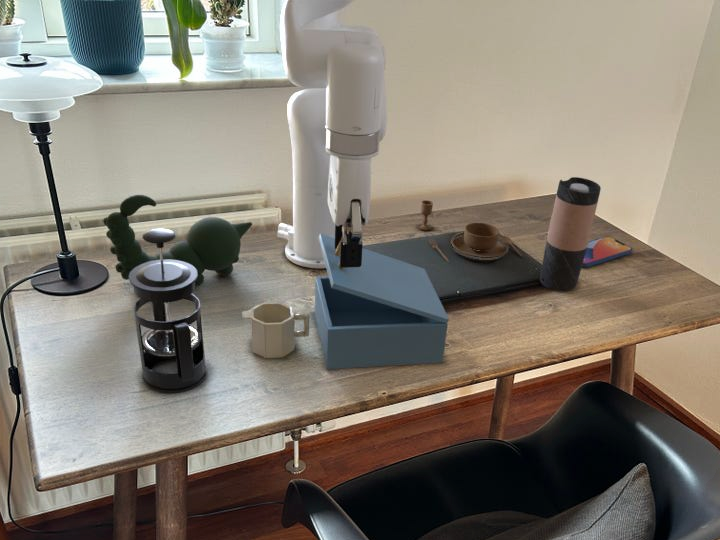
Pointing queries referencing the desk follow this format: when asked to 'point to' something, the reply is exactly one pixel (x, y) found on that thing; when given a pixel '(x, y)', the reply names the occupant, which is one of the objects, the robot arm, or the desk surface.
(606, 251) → the smartphone
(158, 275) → the french press
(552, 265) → the travel mug
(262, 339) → the jug
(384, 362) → the chest
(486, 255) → the place setting
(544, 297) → the desk surface
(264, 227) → the desk surface
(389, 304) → the lid
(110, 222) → the toy figurine
